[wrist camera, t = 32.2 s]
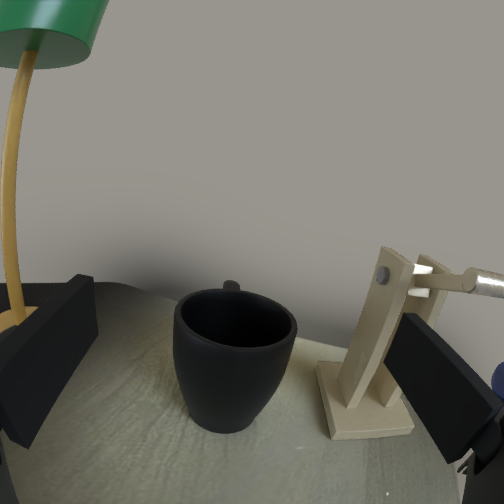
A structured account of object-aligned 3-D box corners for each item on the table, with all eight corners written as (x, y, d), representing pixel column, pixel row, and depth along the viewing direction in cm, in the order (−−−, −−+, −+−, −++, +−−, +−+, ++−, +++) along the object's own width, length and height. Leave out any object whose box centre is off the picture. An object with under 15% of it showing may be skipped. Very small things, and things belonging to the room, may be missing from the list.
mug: (262, 359, 29) (280, 277, 27) (275, 449, 18) (310, 356, 15) (185, 350, 29) (191, 265, 26) (165, 439, 17) (161, 339, 15)
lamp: (66, 387, 19) (113, -56, 9) (-35, 369, 14) (-9, -32, 4) (82, 317, 30) (118, 6, 20) (1, 310, 25) (27, 13, 15)
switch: (531, 312, 10) (536, 270, 10) (473, 307, 10) (479, 253, 10) (427, 297, 22) (430, 270, 22) (370, 289, 22) (374, 259, 22)
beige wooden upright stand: (409, 434, 19) (487, 288, 15) (331, 440, 19) (404, 274, 15) (379, 372, 29) (425, 249, 25) (314, 369, 29) (354, 234, 25)
